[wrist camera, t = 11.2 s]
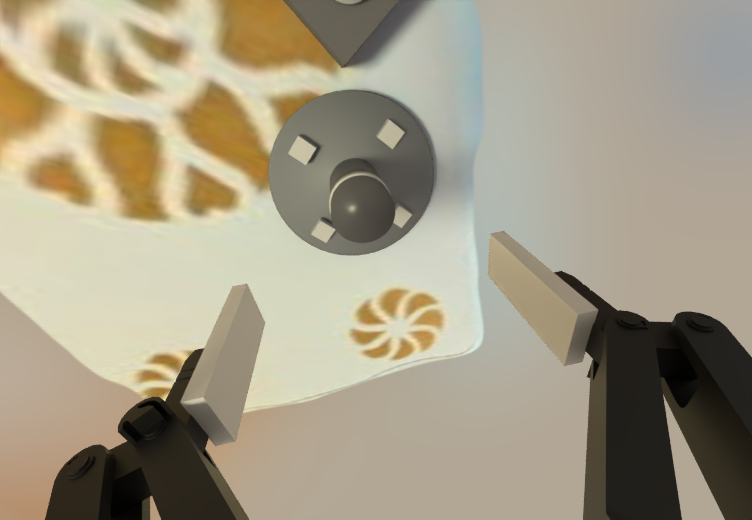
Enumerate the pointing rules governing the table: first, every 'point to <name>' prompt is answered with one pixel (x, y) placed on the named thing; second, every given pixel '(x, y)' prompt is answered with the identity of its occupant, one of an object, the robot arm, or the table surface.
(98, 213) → the table surface
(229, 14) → the table surface
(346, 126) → the plate
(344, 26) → the camera body block
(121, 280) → the table surface
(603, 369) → the robot arm
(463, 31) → the table surface
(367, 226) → the grey rounded cylinder
